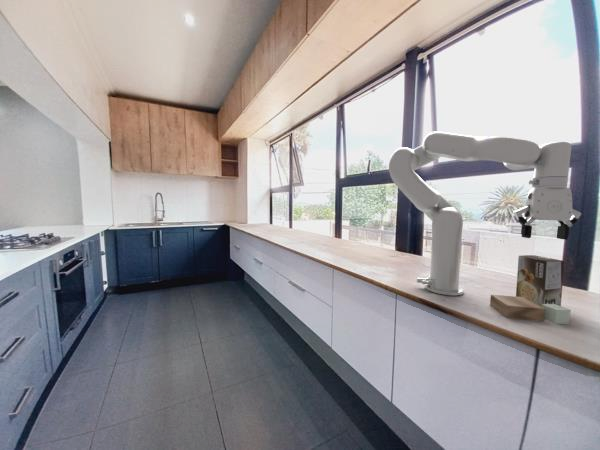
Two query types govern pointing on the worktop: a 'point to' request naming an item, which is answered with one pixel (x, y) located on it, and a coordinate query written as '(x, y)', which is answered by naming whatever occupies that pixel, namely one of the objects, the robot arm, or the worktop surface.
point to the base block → (517, 307)
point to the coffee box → (540, 279)
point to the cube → (556, 314)
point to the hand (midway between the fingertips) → (543, 238)
